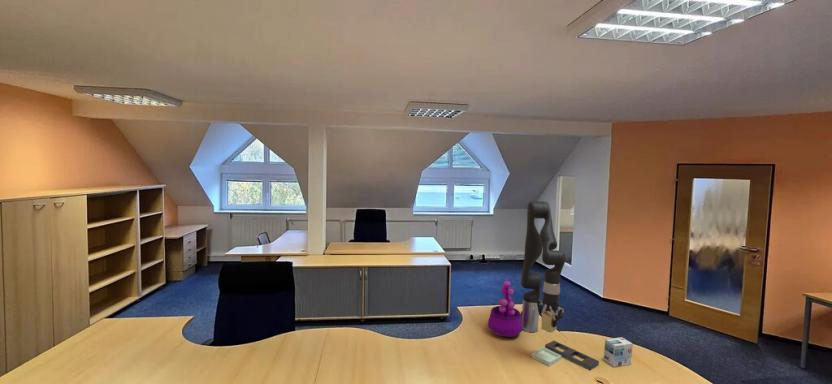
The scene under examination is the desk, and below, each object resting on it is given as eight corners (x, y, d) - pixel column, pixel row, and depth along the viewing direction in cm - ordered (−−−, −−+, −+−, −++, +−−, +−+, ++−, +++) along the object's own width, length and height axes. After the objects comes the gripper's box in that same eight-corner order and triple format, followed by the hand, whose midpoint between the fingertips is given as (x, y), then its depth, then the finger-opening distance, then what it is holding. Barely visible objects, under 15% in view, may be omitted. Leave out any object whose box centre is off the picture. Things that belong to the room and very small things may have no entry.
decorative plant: (481, 327, 213) (484, 276, 210) (509, 323, 218) (512, 274, 215) (498, 343, 195) (501, 288, 192) (528, 339, 200) (531, 285, 198)
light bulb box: (613, 367, 175) (615, 345, 174) (602, 360, 181) (604, 339, 180) (631, 364, 178) (633, 343, 177) (620, 357, 184) (622, 336, 183)
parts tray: (531, 356, 182) (531, 352, 182) (543, 350, 188) (543, 347, 188) (549, 366, 174) (549, 362, 174) (561, 359, 180) (561, 355, 180)
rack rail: (544, 348, 191) (545, 344, 191) (553, 344, 196) (553, 340, 196) (590, 370, 172) (590, 366, 172) (598, 365, 177) (599, 361, 177)
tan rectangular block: (541, 328, 180) (542, 313, 180) (547, 326, 183) (548, 310, 183) (550, 332, 176) (551, 316, 176) (556, 330, 179) (557, 314, 179)
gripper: (533, 288, 181) (531, 321, 183) (560, 297, 170) (558, 332, 172) (542, 285, 186) (540, 317, 188) (569, 294, 175) (566, 328, 176)
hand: (549, 324), depth 180 cm, fingers closed on tan rectangular block, 5 cm apart
